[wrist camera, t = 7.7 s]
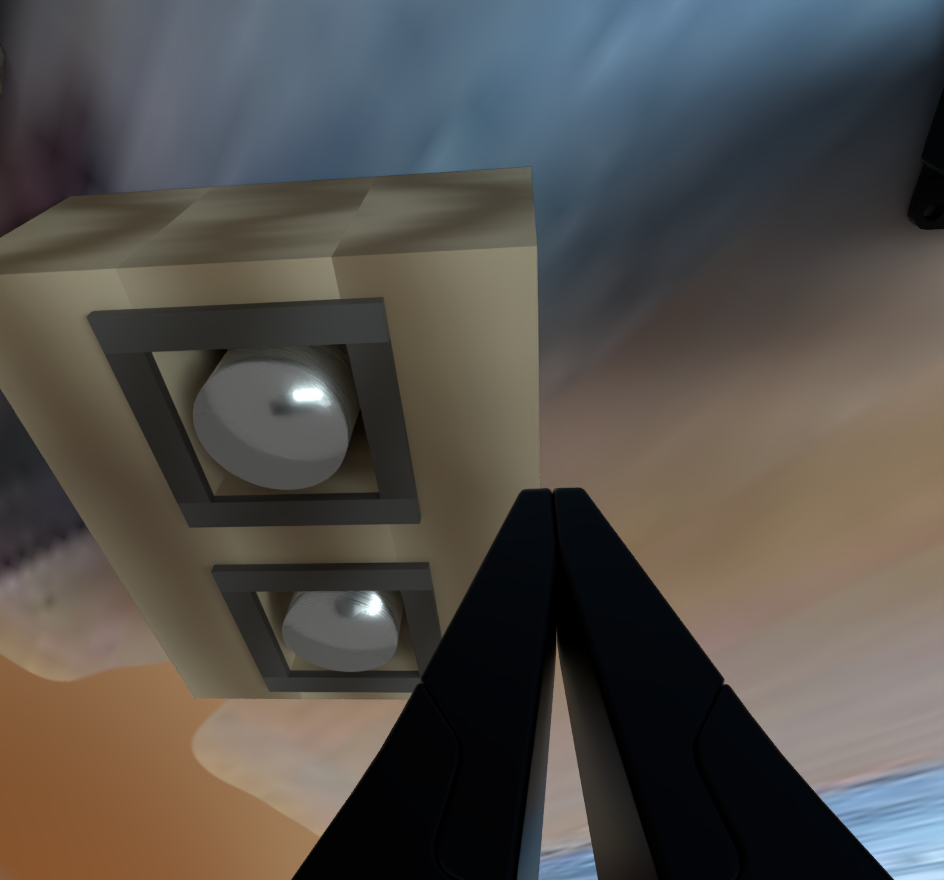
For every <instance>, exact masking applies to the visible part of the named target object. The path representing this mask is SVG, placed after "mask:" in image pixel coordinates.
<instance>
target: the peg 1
mask: <svg viewBox="0 0 944 880" xmlns="http://www.w3.org/2000/svg"><path fill="white" fill-rule="evenodd" d="M359 411H360V404H359V399H358V395H357V390H356V386H355V381H354V377H353V372H352V368H351V363H350V359H349V354H348V350H347V345H346V344H332V345H308V346H284V347H260V348H236V349H228V351H227V352H226V354H225V355H224V357H223V358H222V359H221V361H220V362H219V364H218V365H217V367H216V368H215V370H214V371H213V373H212V374H211V375H210V377H209V378H208V380H207V381H206V383H205V384H204V386H203V387H202V389H201V390H200V392H199V393H198V395H197V397H196V400H195V403H194V407H193V423H194V428H195V431H196V434H197V436H198V438H199V440H200V442H201V444H202V445H203V447H204V448H205V450H206V451H207V452H208V453H209V455H210V456H211V457H212V458H213V459H214V460H215V461H216V462H217V463H218V464H219V465H221V466H222V467H223V468H225V469H226V470H227V471H229V472H230V473H232V474H233V475H235V476H237V477H239V478H241V479H243V480H245V481H248V482H250V483H252V484H256V485H259V486H262V487H267V488H272V489H280V490H294V489H302V488H307V487H311V486H314V485H316V484H319V483H321V482H323V481H325V480H326V479H328V478H329V477H330V476H332V475H333V474H334V473H335V472H336V471H337V469H338V468H339V467H340V465H341V464H342V462H343V460H344V457H345V454H346V451H347V448H348V445H349V442H350V439H351V436H352V432H353V429H354V426H355V423H356V420H357V417H358V414H359Z"/></svg>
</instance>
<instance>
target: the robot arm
mask: <svg viewBox="0 0 944 880" xmlns="http://www.w3.org/2000/svg"><path fill="white" fill-rule="evenodd" d="M921 158H922V160H923V161H924V164H923V167H922V170H921V173H920V176H919V178H918V181H917V184H916V187H915V190H914V193H913V196H912V199H911V202H910V205H909V208H908V218H909V221H911V222H912V223H914V224H915V225H916V226H918V227H919V228H920V229H926V230H933V229H944V89H943V92H942V95H941V98H940V101H939V104H938V107H937V110H936V113H935V116H934V119H933V122H932V125H931V128H930V131H929V134H928V137H927V140H926V143H925V146H924V149H923V152H922V156H921ZM935 203H937V205H936V208H935V210H934V211H933V212H932V213H931V214H930V215H927V216H924V212H925V211H926V209H927V208H928V207H929V206H931V205H932V204H935ZM556 632H557V644H558V652H559V659H560V666H561V671H562V677H563V683H564V688H565V694H566V700H567V706H568V711H569V717H570V723H571V728H572V734H573V740H574V745H575V751H576V757H577V762H578V768H579V774H580V779H581V785H582V791H583V797H584V802H585V808H586V814H587V819H588V825H589V831H590V836H591V842H592V848H593V853H594V859H595V865H596V870H597V876H598V880H894V879H893V878H892V877H891V876H890V875H889V874H888V872H887V871H886V870H885V869H884V868H883V867H882V866H881V865H880V864H879V863H878V861H877V860H876V859H875V858H874V857H873V856H872V855H871V854H870V853H869V851H868V850H867V849H866V848H865V847H864V846H863V845H862V844H861V843H860V842H859V840H858V839H857V838H856V837H855V836H854V835H853V834H852V833H851V832H850V831H849V829H848V828H847V827H846V826H845V825H844V824H843V823H842V822H841V821H840V820H839V818H838V817H837V816H836V815H835V814H834V813H833V812H832V811H831V810H830V808H829V807H828V806H827V805H826V804H825V803H824V802H823V801H822V800H821V798H820V797H819V796H818V795H817V794H816V793H815V792H814V790H813V789H812V788H811V787H810V786H809V785H808V783H807V782H806V781H805V780H804V779H803V778H802V777H801V775H800V774H799V773H798V772H797V771H796V770H795V769H794V767H793V766H792V765H791V764H790V763H789V762H788V761H787V759H786V758H785V757H784V756H783V755H782V753H781V752H780V751H779V750H778V748H777V747H776V746H775V745H774V743H773V742H772V741H771V739H770V738H769V737H768V736H767V734H766V733H765V732H764V731H763V729H762V728H761V727H760V725H759V724H758V723H757V722H756V720H755V719H754V718H753V717H752V715H751V714H750V713H749V711H748V710H747V709H746V707H745V706H744V705H743V703H742V702H741V700H740V699H739V698H738V696H737V695H736V694H735V692H734V691H733V690H732V688H731V687H730V686H729V685H728V684H724V678H723V676H722V675H721V674H720V672H719V671H718V670H717V668H716V667H715V666H714V664H713V663H712V662H711V660H710V659H709V658H708V656H707V655H706V653H705V652H704V651H703V649H702V648H701V647H700V645H699V644H698V643H697V641H696V640H695V639H694V637H693V636H692V635H691V633H690V632H689V630H688V629H687V628H686V626H685V625H684V624H683V622H682V621H681V620H680V618H679V617H678V616H677V614H676V613H675V612H674V610H673V609H672V607H671V606H670V605H669V603H668V602H667V601H666V599H665V598H664V597H663V595H662V594H661V593H660V591H659V590H658V589H657V587H656V586H655V585H654V583H653V582H652V580H651V579H650V578H649V576H648V575H647V574H646V572H645V571H644V570H643V568H642V567H641V566H640V564H639V563H638V562H637V560H636V559H635V557H634V556H633V555H632V553H631V552H630V551H629V549H628V548H627V547H626V545H625V544H624V543H623V541H622V540H621V539H620V537H619V536H618V534H617V533H616V532H615V530H614V529H613V528H612V526H611V525H610V524H609V522H608V521H607V520H606V518H605V517H604V516H603V514H602V513H601V511H600V510H599V509H598V507H597V506H596V505H595V503H594V502H593V501H592V499H591V498H590V497H589V495H588V494H587V493H586V491H585V490H584V489H582V488H556V489H554V490H553V492H551V490H550V489H548V488H532V489H523V490H521V491H520V493H519V494H518V496H517V498H516V500H515V502H514V504H513V505H512V507H511V509H510V511H509V513H508V515H507V517H506V519H505V520H504V522H503V524H502V526H501V528H500V530H499V532H498V534H497V535H496V537H495V539H494V541H493V543H492V545H491V547H490V549H489V550H488V552H487V554H486V556H485V558H484V560H483V562H482V564H481V565H480V567H479V569H478V571H477V573H476V575H475V577H474V579H473V580H472V582H471V584H470V586H469V588H468V590H467V592H466V594H465V595H464V597H463V599H462V601H461V603H460V605H459V607H458V609H457V610H456V612H455V614H454V616H453V618H452V620H451V622H450V624H449V625H448V627H447V629H446V631H445V633H444V635H443V637H442V639H441V640H440V642H439V644H438V646H437V648H436V650H435V652H434V654H433V655H432V657H431V659H430V661H429V663H428V665H427V667H426V669H425V670H424V672H423V674H422V676H421V678H420V681H421V683H418V684H417V685H416V687H415V689H414V690H413V692H412V694H411V696H410V698H409V700H408V702H407V704H406V705H405V707H404V709H403V711H402V713H401V714H400V716H399V718H398V720H397V721H396V723H395V725H394V727H393V728H392V730H391V732H390V734H389V735H388V737H387V739H386V740H385V742H384V744H383V746H382V747H381V749H380V751H379V752H378V754H377V755H376V757H375V758H374V760H373V761H372V763H371V764H370V766H369V767H368V769H367V770H366V772H365V774H364V775H363V777H362V778H361V780H360V781H359V783H358V784H357V786H356V787H355V789H354V790H353V792H352V793H351V795H350V796H349V798H348V799H347V800H346V802H345V803H344V805H343V806H342V808H341V809H340V810H339V812H338V813H337V815H336V816H335V818H334V819H333V820H332V822H331V823H330V825H329V826H328V828H327V829H326V830H325V832H324V833H323V835H322V836H321V838H320V839H319V841H318V842H317V843H316V845H315V846H314V848H313V849H312V851H311V852H310V853H309V855H308V856H307V858H306V859H305V861H304V862H303V864H302V865H301V866H300V868H299V869H298V871H297V872H296V873H295V875H294V876H293V878H292V879H291V880H538V877H539V865H540V852H541V840H542V827H543V814H544V802H545V789H546V777H547V764H548V751H549V739H550V726H551V713H552V701H553V688H554V676H555V662H556Z"/></svg>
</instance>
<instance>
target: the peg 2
mask: <svg viewBox="0 0 944 880" xmlns="http://www.w3.org/2000/svg"><path fill="white" fill-rule="evenodd" d="M403 606H404V603H403V598H402V594H401V591H294V592H293V595H292V598H291V601H290V604H289V607H288V610H287V613H286V616H285V619H284V622H283V625H282V636H283V639H284V641H285V643H286V644H287V646H288V647H289V648H290V649H291V650H292V651H293V652H294V653H295V654H296V655H297V656H299V657H300V658H302V659H303V660H305V661H307V662H309V663H311V664H314V665H316V666H319V667H322V668H326V669H330V670H335V671H343V672H358V671H366V670H371V669H374V668H377V667H379V666H381V665H383V664H385V663H386V662H388V661H389V660H390V659H391V658H392V657H393V655H394V654H395V652H396V649H397V643H398V637H399V631H400V625H401V619H402V613H403Z"/></svg>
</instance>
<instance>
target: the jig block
mask: <svg viewBox="0 0 944 880" xmlns="http://www.w3.org/2000/svg"><path fill="white" fill-rule="evenodd" d="M332 344H346V345H347V350H348V354H349V359H350V363H351V368H352V372H353V377H354V381H355V386H356V390H357V395H358V399H359V404H360V411H359V414H358V417H357V420H356V423H355V426H354V429H353V432H352V436H351V439H350V442H349V445H348V448H347V451H346V454H345V457H344V460H343V462H342V464H341V465H340V467H339V468H338V469H337V471H336V472H335V473H334V474H333V475H332V476H330V477H329V478H328V479H326V480H325V481H323V482H321V483H319V484H316V485H314V486H311V487H307V488H302V489H294V490H280V489H272V488H267V487H262V486H259V485H256V484H252V483H250V482H248V481H245V480H243V479H241V478H239V477H237V476H235V475H233V474H232V473H230V472H229V471H227V470H226V469H225V468H223V467H222V466H221V465H219V464H218V463H217V462H216V461H215V460H214V459H213V458H212V457H211V456H210V455H209V453H208V452H207V451H206V450H205V448H204V447H203V445H202V444H201V442H200V440H199V438H198V436H197V434H196V431H195V428H194V423H193V407H194V403H195V400H196V397H197V395H198V393H199V392H200V390H201V389H202V387H203V386H204V384H205V383H206V381H207V380H208V378H209V377H210V375H211V374H212V373H213V371H214V370H215V368H216V367H217V365H218V364H219V362H220V361H221V359H222V358H223V357H224V355H225V354H226V352H227V351H228V349H236V348H260V347H284V346H308V345H332ZM0 389H1V390H2V392H3V394H4V395H5V397H6V398H7V400H8V402H9V403H10V405H11V406H12V408H13V410H14V411H15V413H16V414H17V416H18V418H19V419H20V421H21V422H22V424H23V426H24V427H25V429H26V430H27V432H28V434H29V435H30V437H31V438H32V440H33V442H34V443H35V445H36V446H37V448H38V450H39V451H40V453H41V454H42V456H43V458H44V459H45V461H46V462H47V464H48V466H49V467H50V469H51V470H52V472H53V474H54V475H55V477H56V478H57V480H58V481H59V483H60V485H61V486H62V488H63V489H64V491H65V493H66V494H67V496H68V497H69V499H70V501H71V502H72V504H73V505H74V507H75V509H76V510H77V512H78V513H79V515H80V517H81V518H82V520H83V521H84V523H85V525H86V526H87V528H88V529H89V531H90V533H91V534H92V536H93V537H94V539H95V541H96V542H97V544H98V545H99V547H100V549H101V550H102V552H103V553H104V555H105V557H106V558H107V560H108V561H109V563H110V565H111V566H112V568H113V569H114V571H115V573H116V574H117V576H118V577H119V579H120V581H121V582H122V584H123V585H124V587H125V588H126V590H127V592H128V593H129V595H130V596H131V598H132V600H133V601H134V603H135V604H136V606H137V608H138V609H139V611H140V612H141V614H142V616H143V617H144V619H145V620H146V622H147V624H148V625H149V627H150V628H151V630H152V632H153V633H154V635H155V636H156V638H157V640H158V641H159V643H160V644H161V646H162V648H163V649H164V651H165V652H166V654H167V656H168V657H169V659H170V660H171V662H172V664H173V665H174V667H175V668H176V670H177V672H178V673H179V675H180V676H181V678H182V679H183V681H184V683H185V684H186V686H187V688H188V689H189V691H190V692H191V694H192V695H193V697H194V698H244V699H402V700H409V698H410V696H411V694H412V692H413V690H414V689H415V687H416V685H417V684H418V683H421V681H420V678H421V676H422V674H423V672H424V670H425V669H426V667H427V665H428V663H429V661H430V659H431V657H432V655H433V654H434V652H435V650H436V648H437V646H438V644H439V642H440V640H441V639H442V637H443V635H444V633H445V631H446V629H447V627H448V625H449V624H450V622H451V620H452V618H453V616H454V614H455V612H456V610H457V609H458V607H459V605H460V603H461V601H462V599H463V597H464V595H465V594H466V592H467V590H468V588H469V586H470V584H471V582H472V580H473V579H474V577H475V575H476V573H477V571H478V569H479V567H480V565H481V564H482V562H483V560H484V558H485V556H486V554H487V552H488V550H489V549H490V547H491V545H492V543H493V541H494V539H495V537H496V535H497V534H498V532H499V530H500V528H501V526H502V524H503V522H504V520H505V519H506V517H507V515H508V513H509V511H510V509H511V507H512V505H513V504H514V502H515V500H516V498H517V496H518V494H519V493H520V491H521V490H523V489H532V488H540V423H539V345H538V266H537V237H536V224H535V211H534V199H533V186H532V173H531V167H519V168H504V169H488V170H472V171H457V172H441V173H425V174H410V175H394V176H379V177H363V178H347V179H332V180H316V181H300V182H285V183H269V184H253V185H238V186H222V187H207V188H191V189H175V190H160V191H144V192H128V193H113V194H97V195H81V196H70V197H69V198H67V199H65V200H64V201H62V202H60V203H58V204H57V205H55V206H53V207H52V208H50V209H48V210H47V211H45V212H43V213H42V214H40V215H38V216H36V217H35V218H33V219H31V220H30V221H28V222H26V223H25V224H23V225H21V226H19V227H18V228H16V229H14V230H13V231H11V232H9V233H8V234H6V235H4V236H3V237H1V238H0ZM294 591H401V594H402V598H403V603H404V606H403V613H402V619H401V625H400V631H399V637H398V643H397V649H396V652H395V654H394V655H393V657H392V658H391V659H390V660H389V661H388V662H386V663H385V664H383V665H381V666H379V667H377V668H374V669H371V670H366V671H358V672H343V671H335V670H330V669H326V668H322V667H319V666H316V665H314V664H311V663H309V662H307V661H305V660H303V659H302V658H300V657H299V656H297V655H296V654H295V653H294V652H293V651H292V650H291V649H290V648H289V647H288V646H287V644H286V643H285V641H284V639H283V636H282V625H283V622H284V619H285V616H286V613H287V610H288V607H289V604H290V601H291V598H292V595H293V592H294Z"/></svg>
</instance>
